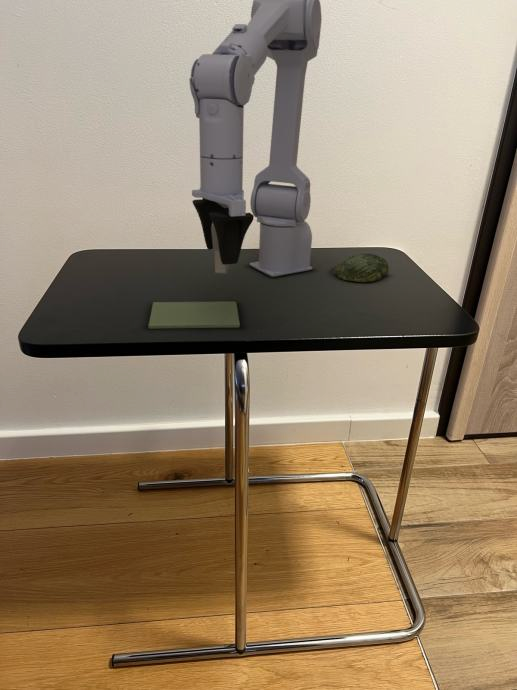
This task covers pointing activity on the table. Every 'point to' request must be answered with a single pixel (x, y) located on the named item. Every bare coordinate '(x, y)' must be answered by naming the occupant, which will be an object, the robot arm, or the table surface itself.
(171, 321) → the mat
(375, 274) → the green rounded dome
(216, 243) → the lighter
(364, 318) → the table surface
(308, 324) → the table surface
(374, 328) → the table surface
